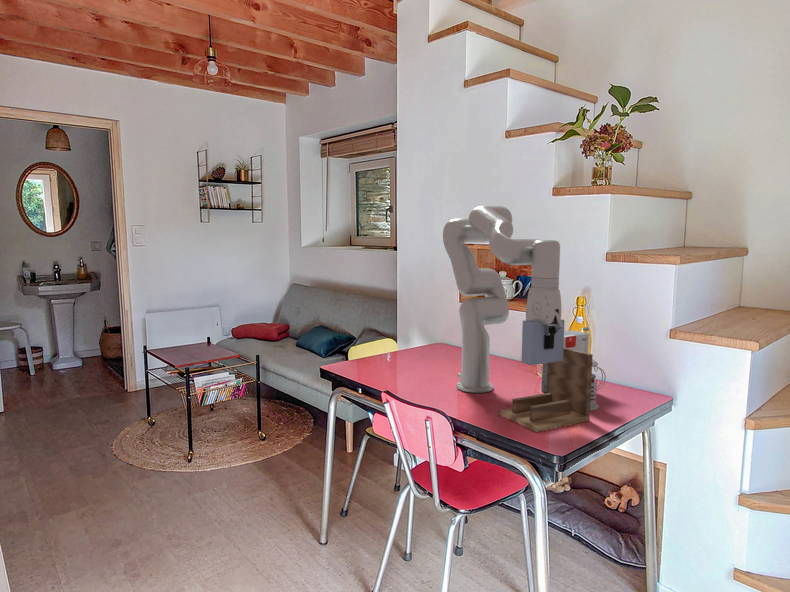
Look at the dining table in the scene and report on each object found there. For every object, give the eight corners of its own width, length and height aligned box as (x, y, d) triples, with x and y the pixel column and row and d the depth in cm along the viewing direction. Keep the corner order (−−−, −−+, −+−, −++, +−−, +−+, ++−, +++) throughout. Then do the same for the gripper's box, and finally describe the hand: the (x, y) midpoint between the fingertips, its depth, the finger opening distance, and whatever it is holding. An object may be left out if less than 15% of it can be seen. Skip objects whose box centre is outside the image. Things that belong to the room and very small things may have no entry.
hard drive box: (559, 397, 176) (561, 337, 174) (540, 391, 183) (542, 334, 180) (587, 389, 186) (589, 332, 183) (568, 384, 192) (570, 329, 189)
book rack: (499, 414, 159) (500, 350, 157) (549, 405, 168) (552, 344, 166) (536, 432, 145) (538, 362, 142) (589, 420, 154) (592, 354, 152)
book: (521, 362, 153) (522, 320, 152) (553, 357, 158) (554, 317, 157) (531, 365, 149) (532, 322, 148) (563, 360, 155) (564, 319, 154)
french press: (561, 400, 172) (564, 324, 169) (595, 399, 174) (599, 323, 171) (574, 410, 163) (577, 329, 160) (610, 409, 164) (614, 329, 161)
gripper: (515, 282, 157) (513, 343, 159) (556, 286, 142) (554, 354, 144) (534, 281, 161) (533, 341, 163) (577, 285, 146) (574, 351, 148)
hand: (543, 346), depth 153 cm, fingers closed on book, 4 cm apart
